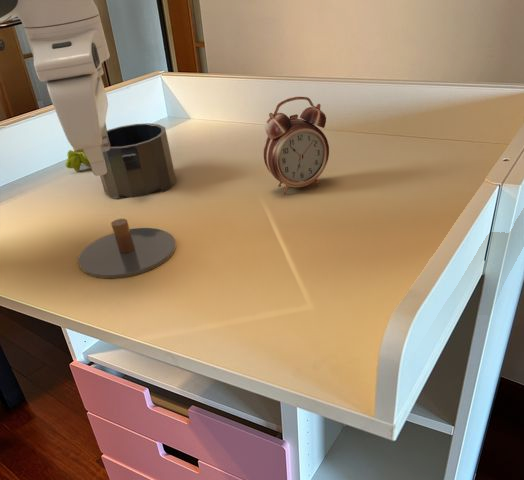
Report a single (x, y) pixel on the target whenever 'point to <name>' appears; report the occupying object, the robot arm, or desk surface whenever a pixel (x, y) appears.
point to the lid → (126, 251)
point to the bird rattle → (76, 159)
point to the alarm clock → (296, 146)
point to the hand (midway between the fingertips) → (103, 161)
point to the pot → (137, 161)
